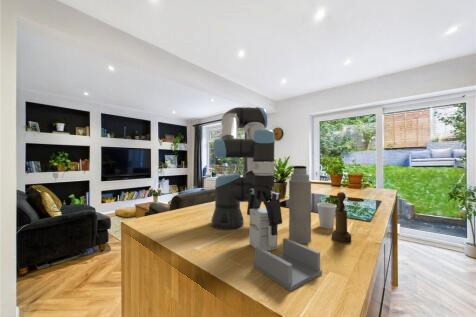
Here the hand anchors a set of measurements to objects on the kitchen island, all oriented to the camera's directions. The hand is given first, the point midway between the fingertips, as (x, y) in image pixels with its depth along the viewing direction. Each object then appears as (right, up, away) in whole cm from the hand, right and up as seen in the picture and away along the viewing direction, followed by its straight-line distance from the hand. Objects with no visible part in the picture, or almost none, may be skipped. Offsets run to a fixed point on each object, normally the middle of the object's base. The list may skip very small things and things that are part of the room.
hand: (263, 240), depth 70 cm
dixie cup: (+32, -3, +22) cm, 39 cm away
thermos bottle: (+15, -3, +7) cm, 16 cm away
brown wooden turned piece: (+31, -3, +7) cm, 31 cm away
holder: (+5, -2, -15) cm, 16 cm away
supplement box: (0, -2, 0) cm, 2 cm away
